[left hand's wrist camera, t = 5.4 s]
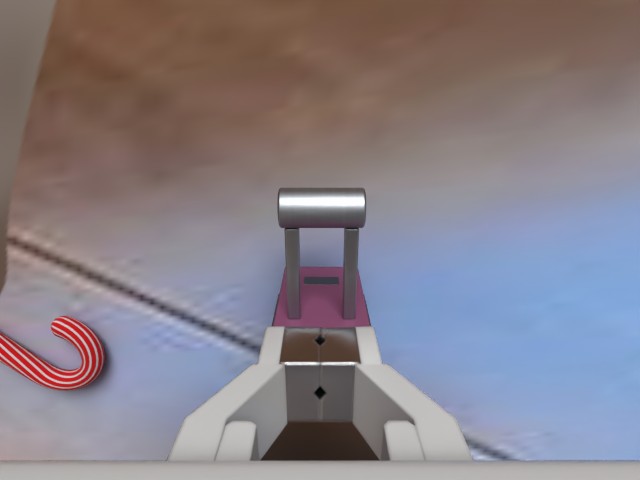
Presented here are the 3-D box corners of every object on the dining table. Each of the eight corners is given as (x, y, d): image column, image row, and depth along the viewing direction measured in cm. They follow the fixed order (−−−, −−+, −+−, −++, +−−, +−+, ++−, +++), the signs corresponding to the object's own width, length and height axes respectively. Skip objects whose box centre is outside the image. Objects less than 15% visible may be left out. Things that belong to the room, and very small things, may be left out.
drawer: (281, 165, 21) (256, 209, 13) (361, 165, 21) (387, 209, 13) (292, 447, 28) (280, 583, 21) (350, 447, 28) (361, 583, 21)
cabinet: (278, 293, 25) (251, 421, 15) (364, 293, 25) (392, 421, 15) (286, 468, 31) (271, 640, 21) (355, 468, 31) (371, 640, 21)
